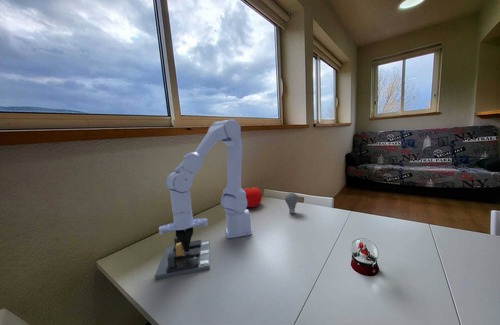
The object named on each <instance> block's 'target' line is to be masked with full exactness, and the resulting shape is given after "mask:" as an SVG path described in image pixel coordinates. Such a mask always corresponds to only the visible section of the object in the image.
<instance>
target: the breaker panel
mask: <svg viewBox="0 0 500 325" xmlns="http://www.w3.org/2000/svg"><path fill="white" fill-rule="evenodd" d="M173 240H174V241H173V242H174V245H171V246H166V247H165V250H164V252H163V254H162V257H161V260H160V262H159V264H158V267H157V270H156V273H155V275H154V278H155V280H161V279H166V278H170V277H171V278H172V277H177V276H180V275H186V274H187V275H188V274H192V273H197V272H202V271H207V270H210V269H211V266H210V265H211V251H210V250H211V248H210V247H211V241H210V239H206V240H201V239H198V240H197V239H196V240H190V245H189V251H188V252H185V250H184V248H183V255H182V256H177V255H176V248H175V247H176V243H181V242H180V241H179V239H178V238H177V237H176V235H175V236H174V238H173Z"/></svg>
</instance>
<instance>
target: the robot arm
mask: <svg viewBox="0 0 500 325" xmlns="http://www.w3.org/2000/svg"><path fill="white" fill-rule="evenodd" d="M241 128H242V126H241V125H240V123H238V121H236V120H235V119H232V118H231V119H226V120H221V121H214V122H213V123H212V124H211V125H210V126H209V128H208V130H207V133H206V134H205V135H204V136H203V138H202V140H201V141H200V143H199V144H198V146H197V147H196V149H195V150H194V151H193V152H192V151H191V152H189V153H187V154H184V156H183V159H182V161H181V162H180V164H178V166H176V167H174V171H173V172H171V173H169V174H168V175H167V177H166V180H165V183H164V185H165V186H166V188H167V189H169V194H170V195H169V196H170V203H171V211H172V217H173V222H170V223H168V224H164V225H159V226H158V227H159V228H158V234H159V235H160V236H161V235H163V234H167V233H172V232H175V236H176V237H177V238H178V239H179V241H180V242H181V244H182V245H183V248H184V250H185V252H188V251H189V245H190V241H192V236H193V234H194V228H198V227H208V226H209V224H208V217H207V218H206V217H203V218H194V217H193V209H192V199H191V192H190V188H192V186H193V179H194V177H195V176H196V175H197V173H198V171H199V170H200V169H201V167H202V166H203V165H204V157H205V156H206V155H207V154H208V152H209V151H210V150H211V149H212V147H214V145H215V144H216V143H217V142H219V141H221V142H222V143H224V144H225V145H226V147H227V158H226V159H227V161H226V162H227V163H226V164H227V168H226V187H225V188H224V189H223V191H222V196H221V198H220V206H221V207H222V208H223V209H224V212H225V221H226V228H225V232H226V238H227V239H233V238H238V237H239V238H240V237H244V236H245V237H246V236H251V235H252V224H251V222H252V221H251V215H250V210H249V209H247V208H248V207H247V199H246V193H245V191H244V189H243V188H242V164H243V163H242V159H243V158H242V155H243V140H242V136H241V133H242V132H241Z"/></svg>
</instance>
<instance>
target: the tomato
mask: <svg viewBox="0 0 500 325" xmlns="http://www.w3.org/2000/svg"><path fill="white" fill-rule="evenodd" d="M243 190H244V191H245V193H246V199H247V207H246V208H256V207H258V206H259V205H260V204H261V202H262V198H263V197H262V196H263V195H262V191H261V190H260V189H259V188H258V187H255V186H250V187H245V188H244V189H243Z"/></svg>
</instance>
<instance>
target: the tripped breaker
mask: <svg viewBox="0 0 500 325" xmlns="http://www.w3.org/2000/svg"><path fill="white" fill-rule="evenodd" d="M175 248H176V255H177V256H182V255H183V245H182V244H181V243H176V247H175Z"/></svg>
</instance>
